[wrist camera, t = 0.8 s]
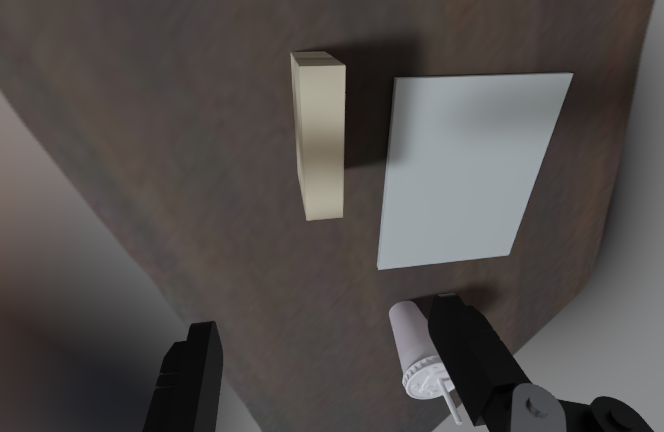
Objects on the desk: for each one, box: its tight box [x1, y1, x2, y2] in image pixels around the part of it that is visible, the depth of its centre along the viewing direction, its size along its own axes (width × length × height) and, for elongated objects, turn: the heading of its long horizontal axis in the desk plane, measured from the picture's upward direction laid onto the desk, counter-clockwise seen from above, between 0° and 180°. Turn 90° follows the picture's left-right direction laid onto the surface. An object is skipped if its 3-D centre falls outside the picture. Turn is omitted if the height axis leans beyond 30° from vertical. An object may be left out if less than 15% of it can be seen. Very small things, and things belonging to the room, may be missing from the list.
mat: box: [377, 72, 573, 270], centre depth 33 cm, size 20×16×1 cm
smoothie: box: [389, 301, 463, 425], centre depth 36 cm, size 6×6×14 cm
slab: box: [291, 51, 346, 221], centre depth 24 cm, size 10×3×8 cm, turn 0°
